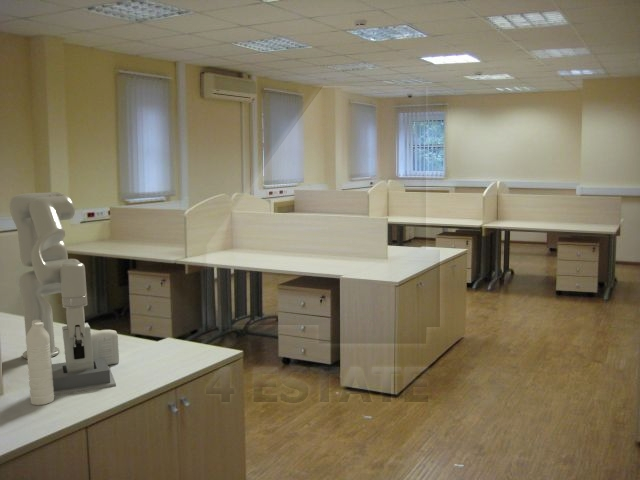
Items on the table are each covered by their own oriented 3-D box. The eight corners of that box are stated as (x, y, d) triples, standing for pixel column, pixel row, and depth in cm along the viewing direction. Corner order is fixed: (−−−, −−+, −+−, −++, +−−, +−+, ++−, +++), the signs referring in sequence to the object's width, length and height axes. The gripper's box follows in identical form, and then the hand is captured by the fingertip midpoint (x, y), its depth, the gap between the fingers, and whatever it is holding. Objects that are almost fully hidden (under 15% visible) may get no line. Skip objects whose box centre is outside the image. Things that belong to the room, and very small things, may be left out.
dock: (46, 378, 216) (45, 363, 215) (109, 369, 224) (108, 355, 223) (48, 396, 200) (46, 380, 199) (115, 385, 208) (115, 370, 207)
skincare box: (92, 365, 216) (89, 322, 214) (94, 371, 210) (91, 326, 208) (65, 370, 212) (61, 325, 210) (66, 375, 207) (63, 329, 205)
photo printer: (117, 360, 234) (115, 326, 232) (121, 363, 230) (118, 329, 228) (87, 365, 228) (85, 331, 226) (91, 369, 224) (88, 334, 223)
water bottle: (29, 400, 197) (22, 319, 193) (52, 395, 200) (46, 316, 197) (34, 409, 189) (27, 326, 186) (57, 404, 193) (51, 322, 190)
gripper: (60, 297, 214) (64, 350, 217) (63, 308, 199) (67, 365, 201) (85, 294, 217) (88, 347, 220) (89, 305, 202) (93, 361, 204)
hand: (78, 355), depth 210 cm, fingers closed on skincare box, 5 cm apart
